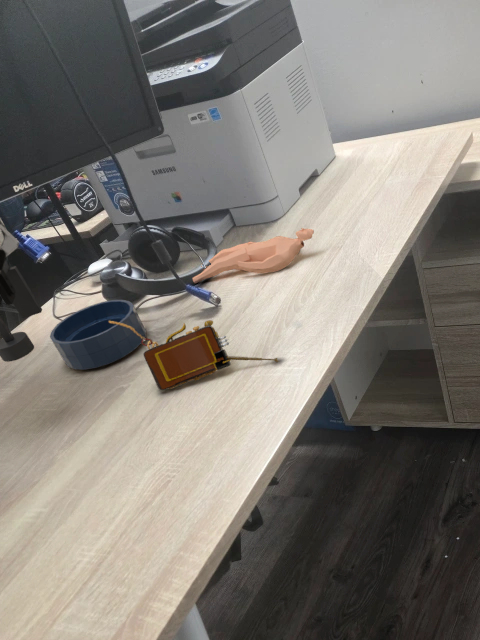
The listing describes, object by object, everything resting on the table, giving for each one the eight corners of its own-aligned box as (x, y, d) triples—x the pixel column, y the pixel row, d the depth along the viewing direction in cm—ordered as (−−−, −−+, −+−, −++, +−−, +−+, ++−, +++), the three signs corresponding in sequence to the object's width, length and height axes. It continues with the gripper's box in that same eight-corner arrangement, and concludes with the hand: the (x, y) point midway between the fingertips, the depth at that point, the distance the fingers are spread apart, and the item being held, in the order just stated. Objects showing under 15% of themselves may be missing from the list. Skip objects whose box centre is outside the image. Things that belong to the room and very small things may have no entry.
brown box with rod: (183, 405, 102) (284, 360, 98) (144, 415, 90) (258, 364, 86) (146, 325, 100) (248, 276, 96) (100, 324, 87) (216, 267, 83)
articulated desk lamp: (32, 355, 87) (-7, 295, 82) (0, 365, 87) (-41, 306, 81) (46, 308, 99) (14, 253, 94) (19, 317, 99) (-16, 262, 94)
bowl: (63, 382, 106) (44, 352, 102) (72, 344, 117) (55, 316, 113) (147, 355, 107) (131, 325, 103) (148, 320, 117) (134, 291, 114)
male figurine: (198, 249, 129) (315, 214, 123) (210, 272, 133) (324, 239, 126) (183, 272, 122) (306, 236, 115) (195, 296, 125) (316, 263, 118)
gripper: (-161, 189, 75) (-56, 332, 87) (-29, 149, 76) (56, 296, 88) (-139, 174, 80) (-44, 310, 93) (-17, 136, 81) (62, 276, 93)
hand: (4, 302), depth 90 cm, fingers closed on articulated desk lamp, 1 cm apart
